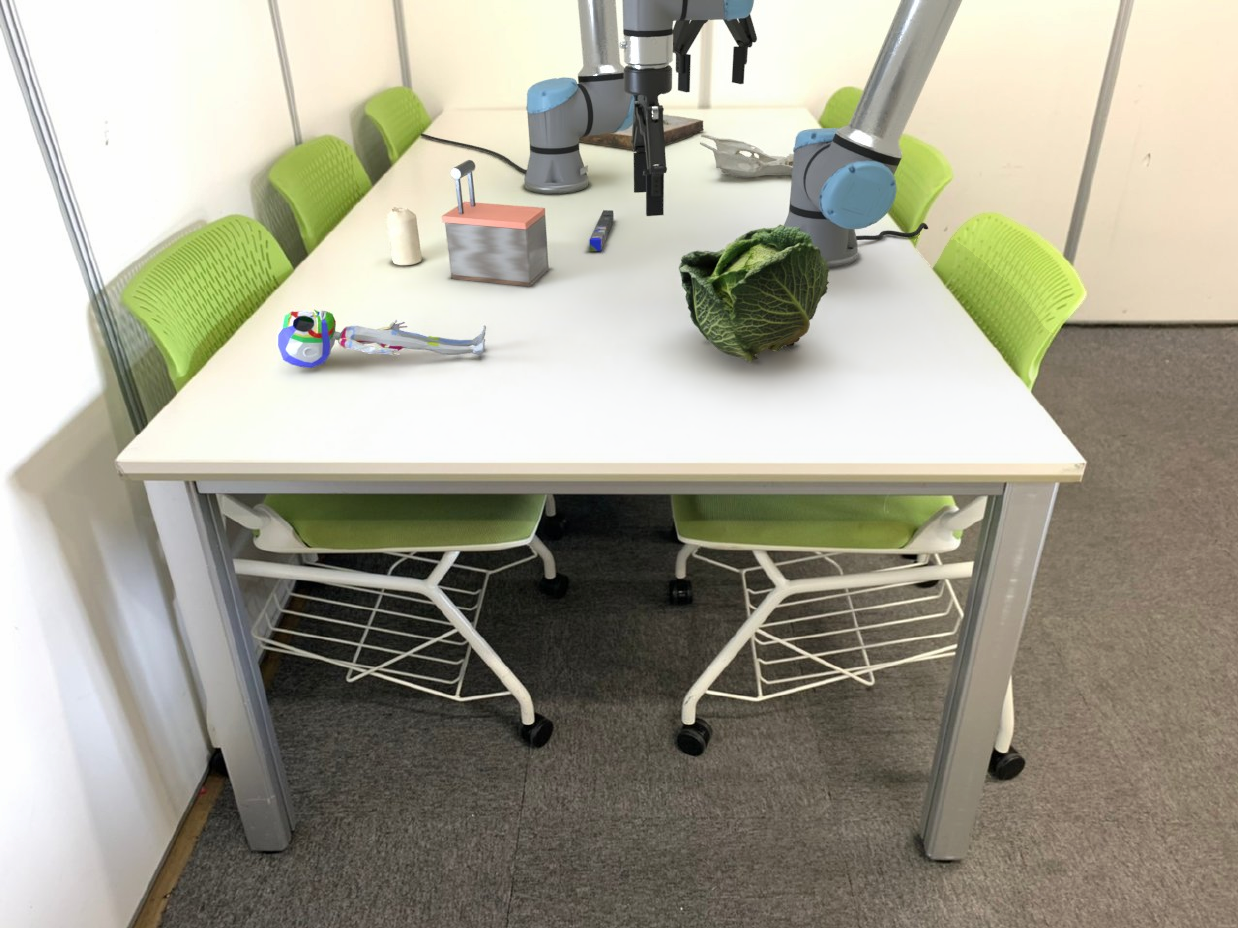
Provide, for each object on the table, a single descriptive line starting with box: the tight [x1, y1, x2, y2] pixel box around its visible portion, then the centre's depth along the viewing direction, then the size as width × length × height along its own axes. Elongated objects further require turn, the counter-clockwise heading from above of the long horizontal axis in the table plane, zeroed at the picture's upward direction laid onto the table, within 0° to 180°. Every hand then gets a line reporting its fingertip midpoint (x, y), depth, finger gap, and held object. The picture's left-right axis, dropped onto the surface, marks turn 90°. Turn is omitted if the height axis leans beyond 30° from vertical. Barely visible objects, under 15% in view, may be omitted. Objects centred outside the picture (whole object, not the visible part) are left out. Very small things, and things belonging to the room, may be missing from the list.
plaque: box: [579, 114, 705, 151], centre depth 257 cm, size 30×7×30 cm
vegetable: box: [678, 224, 830, 364], centre depth 132 cm, size 20×19×20 cm
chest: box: [444, 214, 550, 288], centre depth 162 cm, size 16×9×10 cm, turn 72°
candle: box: [385, 207, 423, 266], centre depth 169 cm, size 6×6×10 cm
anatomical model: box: [699, 133, 794, 178], centre depth 218 cm, size 15×9×25 cm
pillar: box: [588, 209, 615, 252], centre depth 182 cm, size 2×2×20 cm
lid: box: [441, 159, 546, 229], centre depth 157 cm, size 16×9×9 cm, turn 72°
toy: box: [276, 309, 487, 369], centre depth 134 cm, size 10×8×30 cm
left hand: (711, 87), depth 174 cm, fingers open, 13 cm apart
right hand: (648, 203), depth 149 cm, fingers open, 13 cm apart
